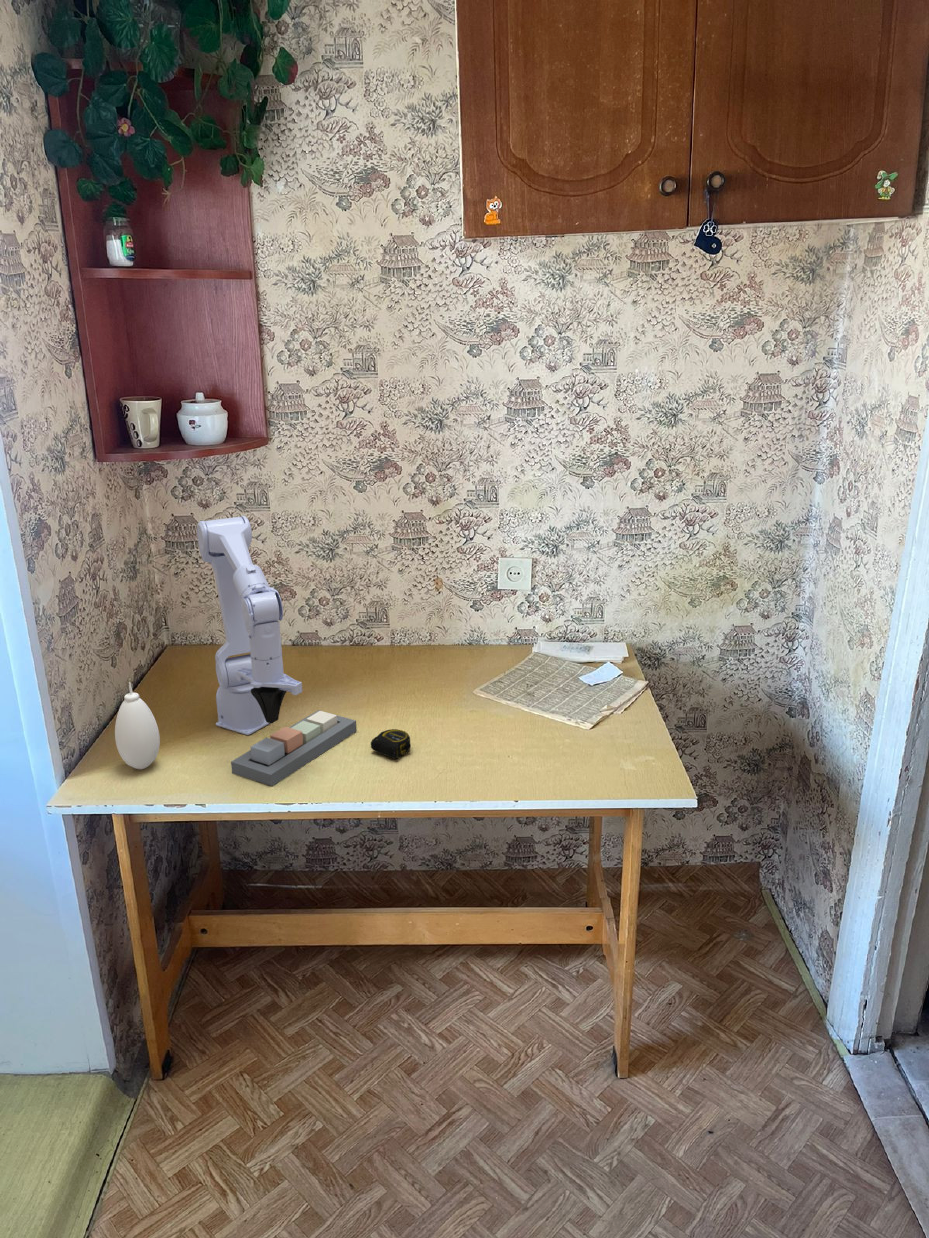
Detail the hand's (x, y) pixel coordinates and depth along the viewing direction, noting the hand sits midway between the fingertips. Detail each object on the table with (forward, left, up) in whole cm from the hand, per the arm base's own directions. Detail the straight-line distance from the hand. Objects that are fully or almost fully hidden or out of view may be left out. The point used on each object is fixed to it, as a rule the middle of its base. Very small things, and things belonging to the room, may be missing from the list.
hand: (272, 720), depth 180 cm
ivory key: (0, +14, -8) cm, 17 cm away
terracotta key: (0, +4, -7) cm, 8 cm away
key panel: (0, +6, -10) cm, 11 cm away
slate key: (0, -2, -7) cm, 7 cm away
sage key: (0, +9, -8) cm, 12 cm away
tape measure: (+17, +15, -10) cm, 25 cm away
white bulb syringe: (-22, -14, -10) cm, 28 cm away
